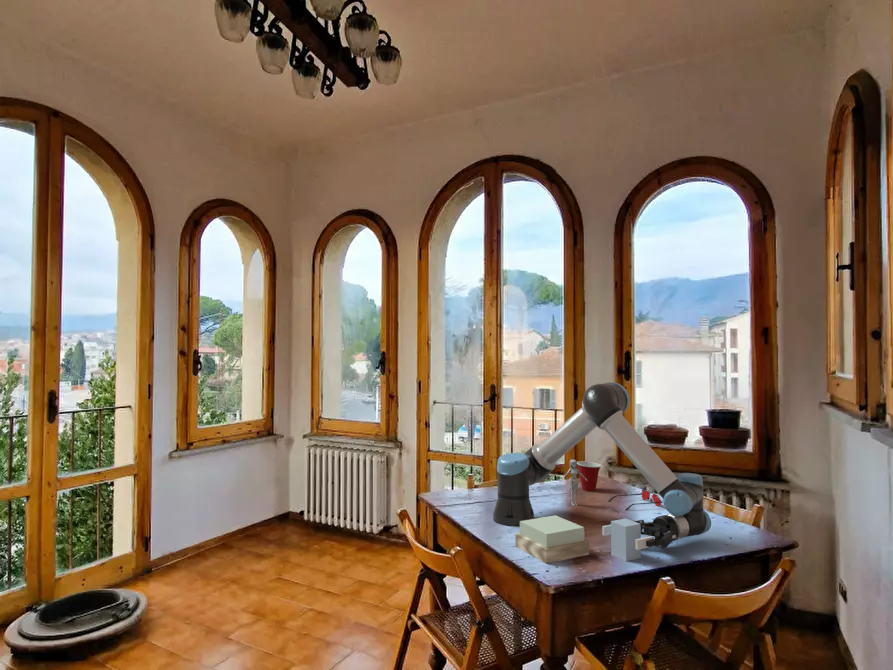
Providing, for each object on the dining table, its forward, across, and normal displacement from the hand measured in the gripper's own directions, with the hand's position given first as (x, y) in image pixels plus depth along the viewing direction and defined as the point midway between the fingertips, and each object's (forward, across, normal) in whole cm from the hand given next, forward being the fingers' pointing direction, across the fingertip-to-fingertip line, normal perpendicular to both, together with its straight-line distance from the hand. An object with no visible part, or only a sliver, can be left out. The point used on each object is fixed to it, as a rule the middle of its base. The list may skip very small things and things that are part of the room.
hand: (619, 537), depth 161 cm
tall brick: (-3, 0, -6) cm, 7 cm away
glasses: (-48, +41, -7) cm, 63 cm away
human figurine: (-26, +52, -6) cm, 58 cm away
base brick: (+14, +14, -6) cm, 21 cm away
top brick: (+14, +14, -2) cm, 20 cm away
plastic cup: (-48, +68, -6) cm, 83 cm away
